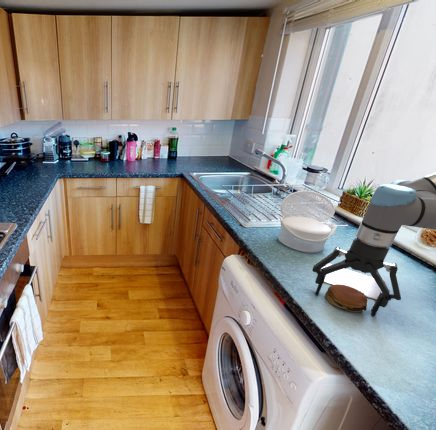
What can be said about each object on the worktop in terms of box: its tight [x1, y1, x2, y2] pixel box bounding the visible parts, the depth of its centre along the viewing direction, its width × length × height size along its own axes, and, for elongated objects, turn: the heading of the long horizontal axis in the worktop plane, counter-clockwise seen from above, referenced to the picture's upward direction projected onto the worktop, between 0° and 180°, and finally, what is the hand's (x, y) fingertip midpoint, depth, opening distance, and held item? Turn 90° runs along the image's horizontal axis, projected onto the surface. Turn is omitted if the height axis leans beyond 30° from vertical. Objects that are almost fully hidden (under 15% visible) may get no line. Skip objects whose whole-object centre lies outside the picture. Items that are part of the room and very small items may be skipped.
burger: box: [324, 284, 368, 313], centre depth 85 cm, size 10×9×5 cm
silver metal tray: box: [321, 263, 386, 301], centre depth 96 cm, size 18×14×1 cm
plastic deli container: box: [277, 190, 338, 253], centre depth 116 cm, size 20×20×20 cm
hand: (343, 302), depth 86 cm, fingers open, 13 cm apart
